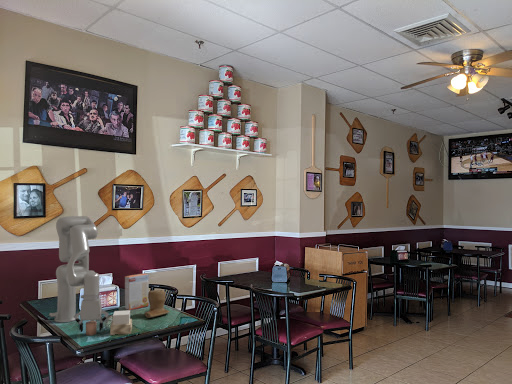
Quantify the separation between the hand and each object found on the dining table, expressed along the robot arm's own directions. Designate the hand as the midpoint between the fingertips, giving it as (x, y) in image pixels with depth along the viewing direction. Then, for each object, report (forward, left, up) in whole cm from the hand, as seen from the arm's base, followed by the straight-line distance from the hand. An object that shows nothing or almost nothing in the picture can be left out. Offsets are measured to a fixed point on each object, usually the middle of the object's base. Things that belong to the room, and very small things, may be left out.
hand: (91, 330), depth 211 cm
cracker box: (+20, +47, -2) cm, 51 cm away
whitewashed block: (+15, +1, +3) cm, 15 cm away
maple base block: (+15, +1, -2) cm, 15 cm away
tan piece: (+32, +27, -2) cm, 42 cm away
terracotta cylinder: (0, 0, -2) cm, 2 cm away
